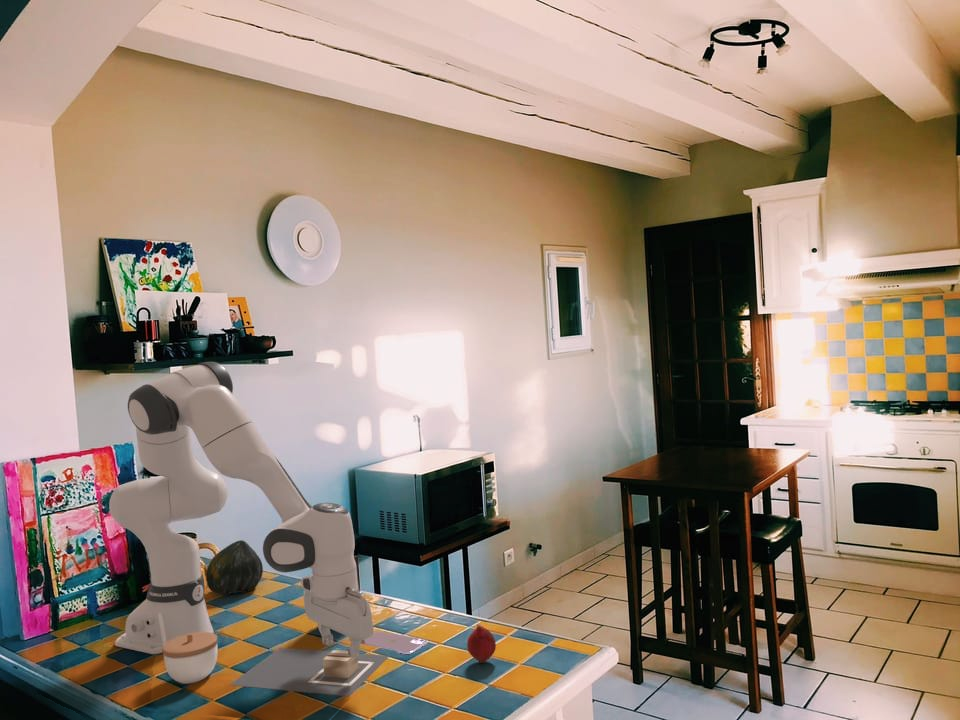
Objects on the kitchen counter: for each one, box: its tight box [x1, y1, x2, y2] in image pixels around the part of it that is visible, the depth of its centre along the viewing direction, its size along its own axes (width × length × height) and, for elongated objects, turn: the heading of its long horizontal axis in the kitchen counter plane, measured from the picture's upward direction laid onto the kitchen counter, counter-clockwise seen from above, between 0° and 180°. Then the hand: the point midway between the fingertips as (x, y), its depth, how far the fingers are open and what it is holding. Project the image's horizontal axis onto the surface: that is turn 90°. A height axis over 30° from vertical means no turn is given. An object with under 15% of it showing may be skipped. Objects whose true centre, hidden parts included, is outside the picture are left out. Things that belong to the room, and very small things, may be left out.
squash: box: [205, 539, 264, 596], centre depth 211 cm, size 14×15×15 cm
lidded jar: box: [162, 632, 219, 685], centre depth 156 cm, size 11×11×9 cm
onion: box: [466, 623, 497, 664], centre depth 154 cm, size 6×6×8 cm
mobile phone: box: [360, 630, 429, 655], centre depth 167 cm, size 8×1×15 cm
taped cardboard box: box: [323, 649, 359, 678], centre depth 153 cm, size 6×4×4 cm
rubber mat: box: [229, 647, 390, 697], centre depth 155 cm, size 27×18×1 cm, turn 72°
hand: (340, 649), depth 153 cm, fingers open, 8 cm apart
